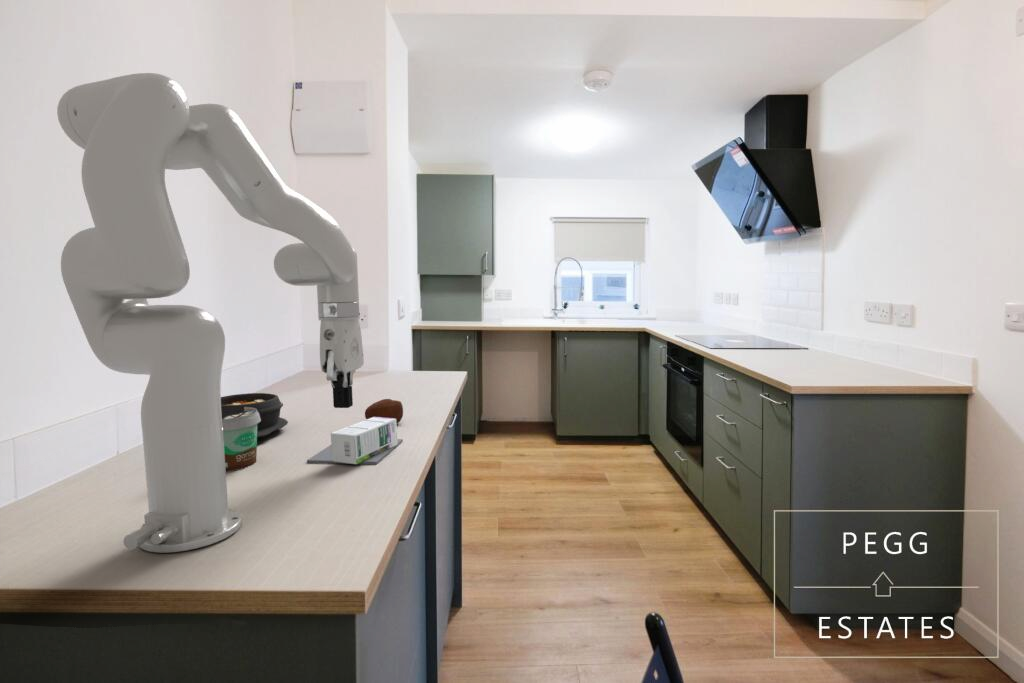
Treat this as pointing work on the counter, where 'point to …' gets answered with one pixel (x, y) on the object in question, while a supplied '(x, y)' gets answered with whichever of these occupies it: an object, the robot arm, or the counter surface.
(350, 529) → the counter surface
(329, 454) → the mat
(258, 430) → the casserole
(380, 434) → the syrup box
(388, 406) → the potato
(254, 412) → the food container
